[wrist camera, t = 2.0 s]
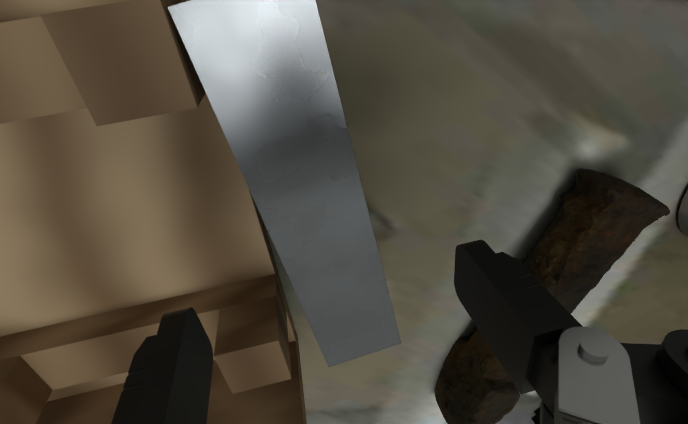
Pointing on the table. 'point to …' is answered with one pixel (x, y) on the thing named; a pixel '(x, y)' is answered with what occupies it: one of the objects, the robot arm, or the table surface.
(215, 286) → the post cradle
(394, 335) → the rail
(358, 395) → the table surface
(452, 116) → the table surface
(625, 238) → the dark brown bar
